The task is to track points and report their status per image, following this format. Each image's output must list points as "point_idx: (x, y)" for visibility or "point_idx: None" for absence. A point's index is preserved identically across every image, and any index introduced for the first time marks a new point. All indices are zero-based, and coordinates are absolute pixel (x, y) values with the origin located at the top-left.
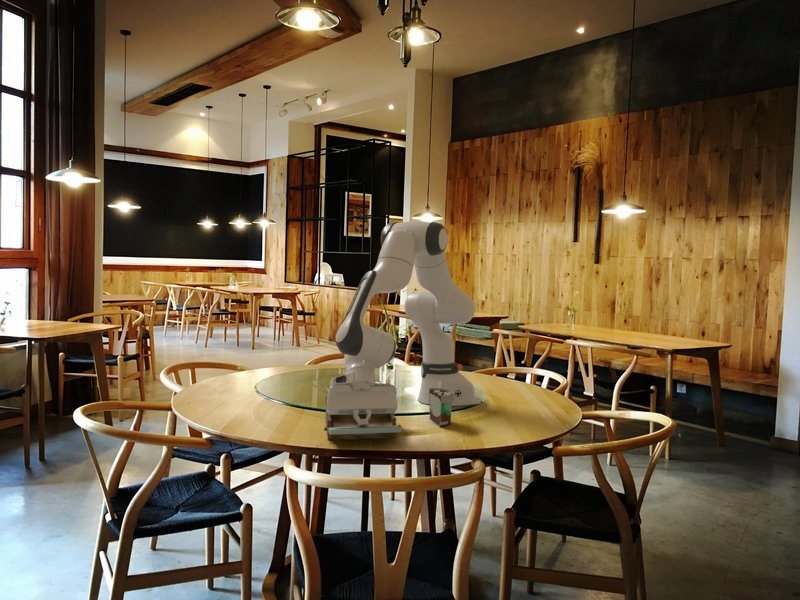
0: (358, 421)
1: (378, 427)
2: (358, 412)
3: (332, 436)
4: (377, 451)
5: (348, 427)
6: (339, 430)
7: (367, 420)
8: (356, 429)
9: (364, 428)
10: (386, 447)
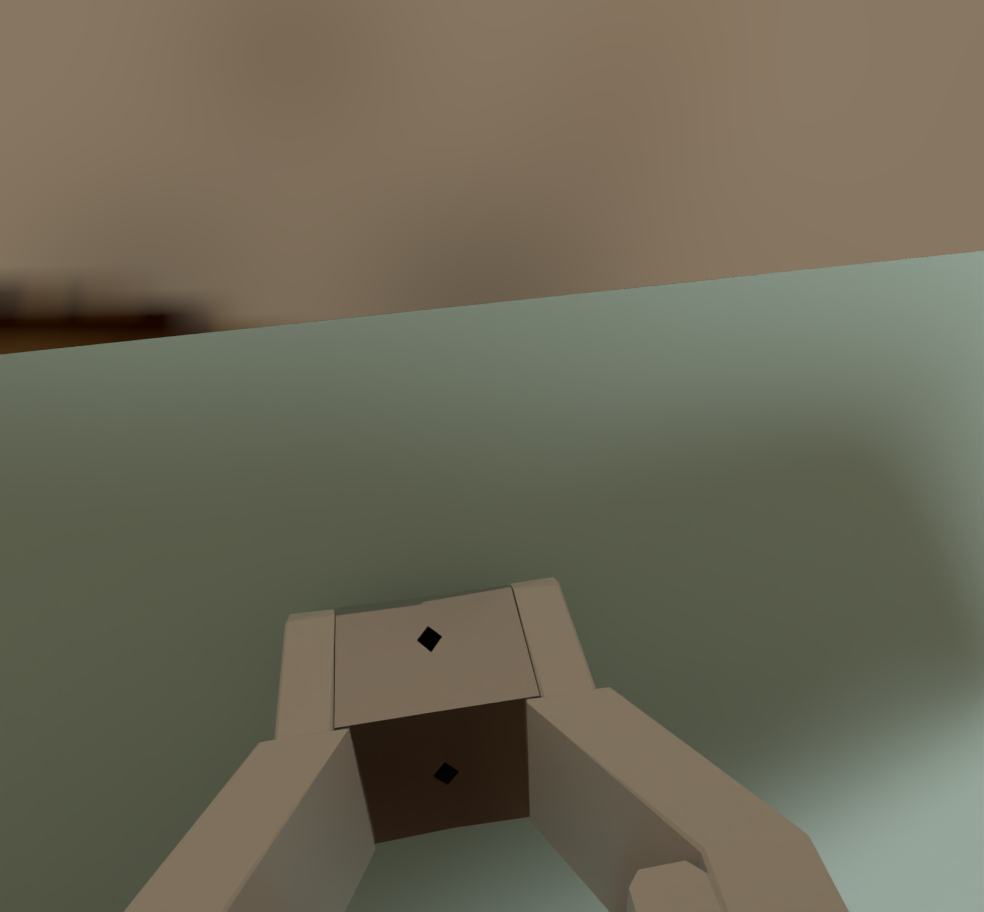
0: (563, 627)
1: (44, 674)
2: (641, 904)
3: None
4: (208, 316)
5: None
6: (908, 259)
7: (298, 684)
8: (566, 300)
9: (390, 450)
10: None
